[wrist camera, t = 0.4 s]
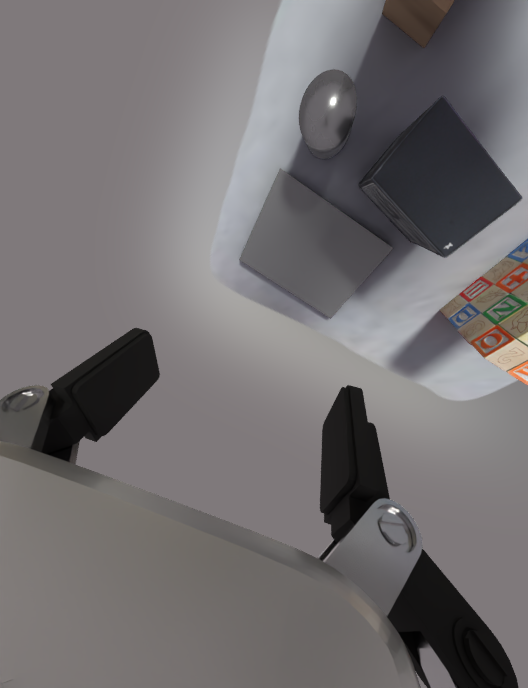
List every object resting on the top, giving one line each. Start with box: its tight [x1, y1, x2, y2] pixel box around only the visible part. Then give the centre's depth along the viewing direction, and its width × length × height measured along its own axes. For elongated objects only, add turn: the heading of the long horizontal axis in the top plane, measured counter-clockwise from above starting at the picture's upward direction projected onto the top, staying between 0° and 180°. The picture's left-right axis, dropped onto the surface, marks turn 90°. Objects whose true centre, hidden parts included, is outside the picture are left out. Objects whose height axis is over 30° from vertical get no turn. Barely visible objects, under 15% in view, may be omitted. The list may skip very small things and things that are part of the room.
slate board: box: [239, 169, 393, 319], centre depth 32 cm, size 13×18×1 cm
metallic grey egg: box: [299, 70, 357, 159], centre depth 22 cm, size 5×5×7 cm
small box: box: [359, 96, 522, 258], centre depth 22 cm, size 11×6×10 cm, turn 53°
